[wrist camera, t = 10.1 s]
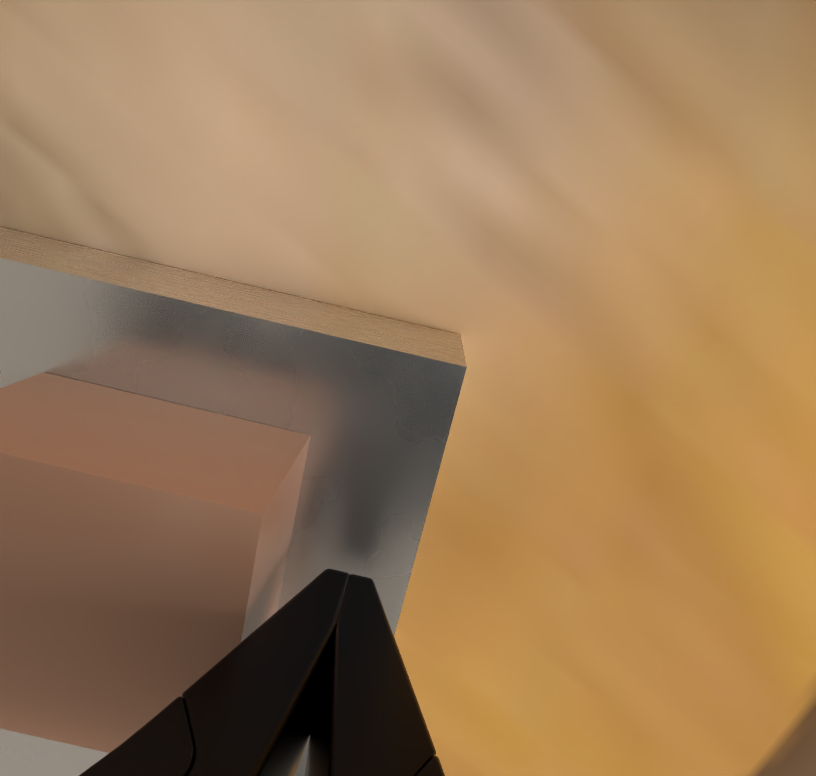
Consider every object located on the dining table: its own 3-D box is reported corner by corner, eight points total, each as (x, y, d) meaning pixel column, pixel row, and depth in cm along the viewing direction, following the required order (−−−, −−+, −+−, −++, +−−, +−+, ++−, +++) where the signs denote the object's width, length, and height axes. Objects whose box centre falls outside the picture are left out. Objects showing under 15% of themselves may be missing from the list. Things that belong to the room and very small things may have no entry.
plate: (312, 901, 16) (290, 1019, 14) (-11, 830, 16) (-90, 936, 14) (460, 334, 11) (466, 366, 8) (-28, 220, 11) (-165, 219, 8)
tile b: (270, 646, 10) (218, 777, 8) (38, 593, 10) (-86, 709, 8) (310, 435, 9) (261, 515, 6) (43, 372, 9) (-107, 428, 6)
